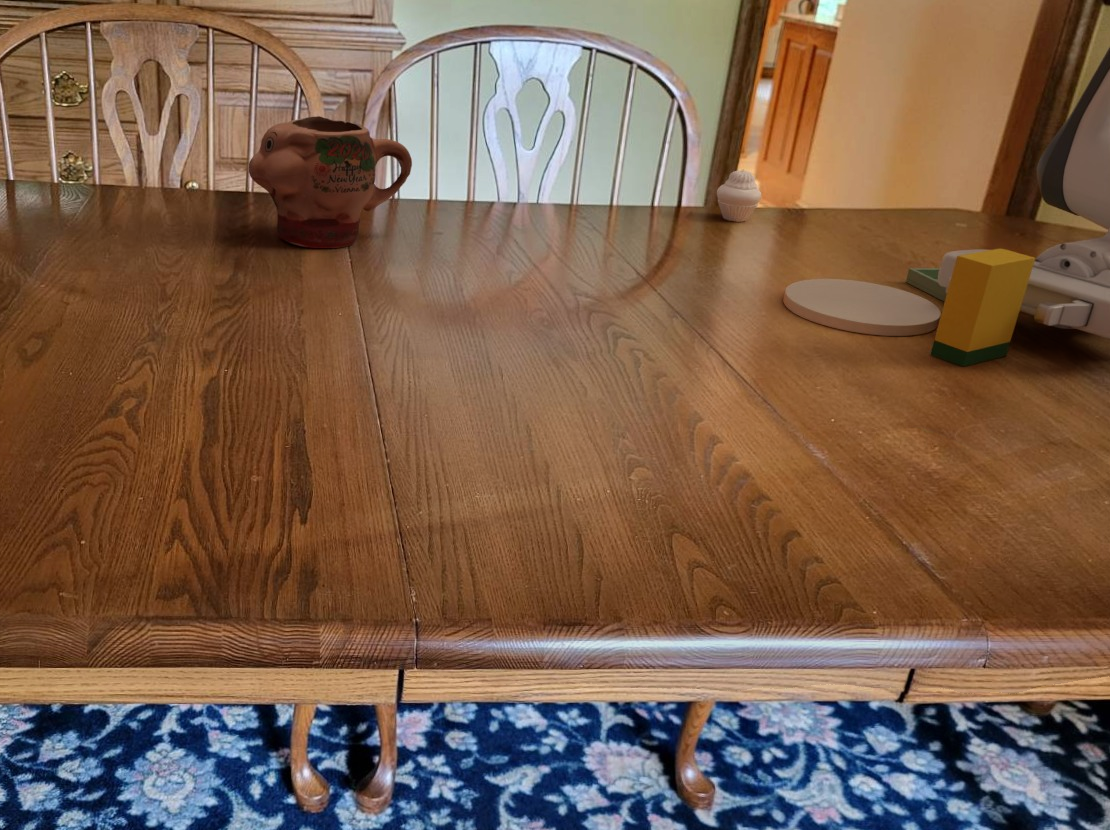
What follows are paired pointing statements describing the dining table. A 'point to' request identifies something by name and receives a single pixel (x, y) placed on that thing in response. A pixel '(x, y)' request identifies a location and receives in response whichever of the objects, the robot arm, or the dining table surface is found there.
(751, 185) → the muffin
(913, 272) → the dish
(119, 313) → the dining table surface
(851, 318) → the plate
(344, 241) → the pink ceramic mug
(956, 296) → the sponge
